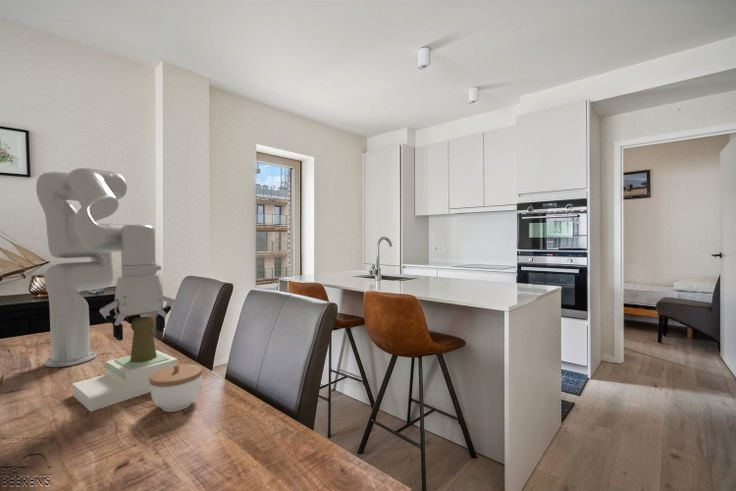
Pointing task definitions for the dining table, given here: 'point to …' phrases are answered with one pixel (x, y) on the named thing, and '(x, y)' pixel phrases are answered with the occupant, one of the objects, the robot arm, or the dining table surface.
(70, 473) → the dining table surface
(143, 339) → the cork
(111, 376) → the platform
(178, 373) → the lidded jar
